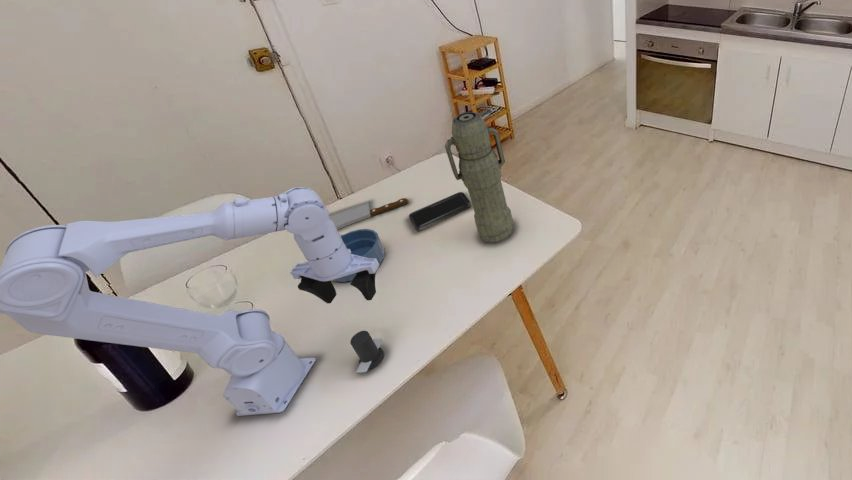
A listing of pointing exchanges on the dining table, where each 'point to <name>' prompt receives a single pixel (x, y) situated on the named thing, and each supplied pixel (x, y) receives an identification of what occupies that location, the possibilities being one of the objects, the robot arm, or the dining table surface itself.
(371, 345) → the blade unit
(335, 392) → the dining table surface
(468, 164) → the thermos
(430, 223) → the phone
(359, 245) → the blue round bowl
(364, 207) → the kitchen cleaver
